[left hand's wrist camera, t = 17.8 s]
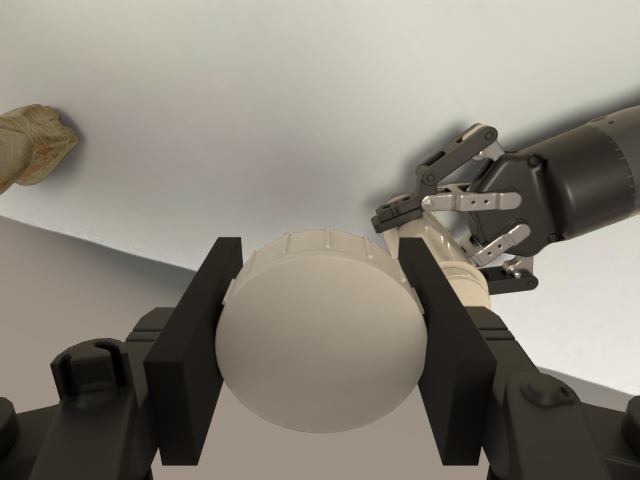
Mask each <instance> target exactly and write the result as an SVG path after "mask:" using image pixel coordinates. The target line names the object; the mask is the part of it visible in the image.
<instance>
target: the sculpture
mask: <svg viewBox="0 0 640 480" xmlns="http://www.w3.org/2000/svg"><path fill="white" fill-rule="evenodd" d="M59 121H60V116H59V114H58V113H57V112H56V111H54V110H53V109H52V108H51V107H50V106H45V107H42V106H41V105H39V104H34V105H29V106H25V107H21V108H18V109H15V110H12V111H9V112H6V113H5V114H3V115H1V116H0V195H1V194H2V193H4V192H5V191H6V190H7V189H8V188H9V187H10V186H11V185H12V184H13V183H15V182H16V183H17V184H19V185H23V186H30V185H35V184H37V183H39V182H41V181H42V180H44V179H45V178H46V177H47V176H49V175H50V174H51V172H52V171H53V170H54V169H55V168H56V167H57V165H58V164H59V163H60V161H61V160H62V159H63V157H64V156H65V155H66V154H67V153H68V152H69V151H70V150H71V148H72V147H74V146H75V145H76V144H77V143H78V141H79V138H78V136H77V135H76V134H75V133H74V131H73V130H72V129H71V128H70V127H66V126H64V125H62V124H61V123H60V122H59Z"/></svg>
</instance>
